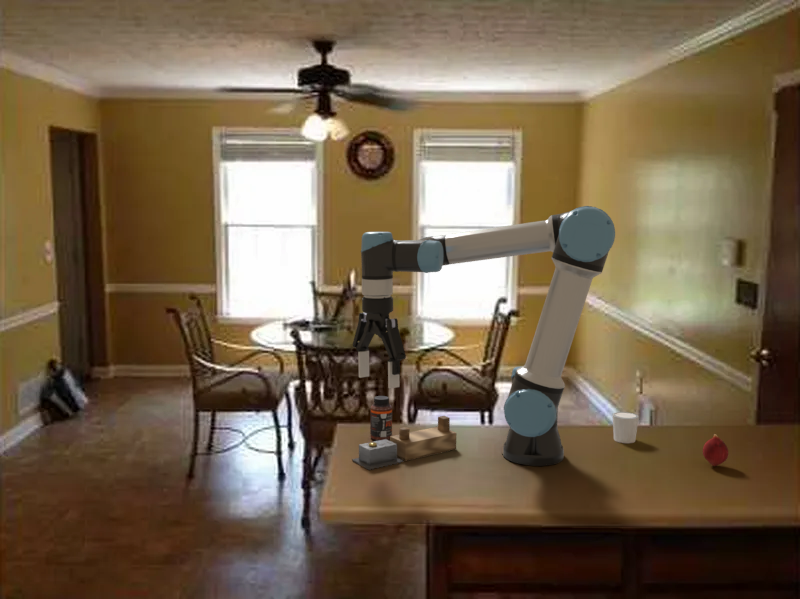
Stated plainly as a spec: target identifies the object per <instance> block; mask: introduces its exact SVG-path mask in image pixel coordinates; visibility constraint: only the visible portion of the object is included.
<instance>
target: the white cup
mask: <svg viewBox="0 0 800 599" xmlns="http://www.w3.org/2000/svg"><path fill="white" fill-rule="evenodd" d="M611 416H612V430H613V440H614V441H615V442H616V443H620V444H621V443H622V444H633V443H635V442H636V439H637V431H638V424H639V420H640V419H639V415H638V414H637V413H634V412H633V413H632V412H627V411H617V412H613V413H612V415H611Z"/></svg>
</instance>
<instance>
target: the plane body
mask: <svg viewBox="0 0 800 599" xmlns="http://www.w3.org/2000/svg"><path fill="white" fill-rule="evenodd" d="M450 420H451V419H450V417H449V416H446V415H441V416H438V417H437V426H435V427H429V428H425V429H424V428H423V429H419V430H414V431H410V427H407V426H406V427H405V426H404V427H400V428H399V429H398V432H399V434H396V435H395V434H394V435H392V436H390V439H389V441H391V442H393V443H395V444H397V458H399V459H401V460H403V461H404V462H407V461H406V460H408V461H412V460H416V459H415V458H417V459H421V458H425V457H430V456H434V455H437V453H439V454H442V453H441V452H443V453H447V452H451V451H450V450H452V451H455V449H456V450H457V432H456V431H453V430H450V423H451V422H450ZM446 451H447V452H446ZM433 454H434V455H433ZM429 455H430V456H429ZM424 456H425V457H424ZM420 457H421V458H420ZM411 459H412V460H411Z"/></svg>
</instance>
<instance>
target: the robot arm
mask: <svg viewBox="0 0 800 599" xmlns="http://www.w3.org/2000/svg"><path fill="white" fill-rule="evenodd" d="M615 238H616V228H615V224H614V222H613V220H612V218H611V217H610V215H609V214H608V213H607V212H606V211H604V210H603V209H601V208H598V207H596V206H589V205H584V206H579V207H576V208H574V209H573V210H570V211H566V212H562V213H557V214H552V215H550V216H549V217H548V218H547V219H545V220H537V221H530V222H525V223H518V224H511V225H505V226H496V227H490V228H484V229H476V230H471V231H470V230H469V231H465V232H456V233H451V234H445V235H442V234H441V235H436V236H425V237H423V238H420V239H415V240H398V239H394V236H393V233H392V232H390V231H367V232H366V231H365V232H364V233H363V234H362V236H361V246H360V247H361V250H360V255H361V256H360V258H361V259H360V260H361V261H360V262H361V294H362V296H363V297H362V298H361V311H362V312H360V313H359V314H358V322H357V325H356V326H357V327H356V330H355V334H354V338H353V342H352V347H353V348H355V349H356V351H357V355H358V356H357V358H358V359H357V361H358V378H360V379H361V378H368V377H370V348H369V346H370V344H371V343H372V341H373V340H372V339H373V338H374V336H375V335H377V336H378V338H379V339H381V341H382V344H383V346H384V347H385V351H386V352H387V356H388V357H389V359H388V360H387V375H388V376H387V380H388V381H387V384H388V387H387V388H388V389H394V388H400V385H401V384H400V383H401V382H400V373H401V370H400V369H401V361H402V360H405V359H406V358H407V356H406V351H405V348H404V344H403V341H402V337H401V334H400V329H399V322H398V321H399V320H398V318H396V317H395V318H390V313H392V312H393V311H394V298H393V296H392V295H393V293H394V292H393V291H394V290H393V289H394V288H393V287H394V282H393V281H394V280H393V279H394V275H393V274H394V273H395V272H397V273H398V272H399V273H400V272H401V273H402V272H404V273H405V272H407V273H424V274H429V273H439V272H440V271H441V270H442V269H443V266H448V265H455V264H463V263H469V262H470V263H471V262H478V261H485V260H486V261H487V260H493V259H501V258H510V257H516V256H522V255H531V254H538V253H547V252H551V253H552V255H551V260H552V263H553V264H554V267H555V268H554V272H553V275H552V277H551V281H550V284H549V286H548V287H549V288H548V291H547V293H546V297H545V301H544V303H543V306H542V309H541V313H540V316H539V320H538V321H537V322H538V323H537V325H536V329H535V333H534V336H533V338H532V342H531V345H530V348H529V352H528V354H527V357H526V361H525V363H524V365H522V366H515V367H514V368H512V372H511V376H510V380H511V386H510V390H509V392H508V396H507V399H506V400H505V402H504V405H503V414H504V418H505V421H506V423H507V425H508V426H509V429H508V431H507V436H506V441H505V442H503V443H504V444H503V450H502V456H503V458H505V459H506V460H508V461H510V462H512V463H515V464H518V465H519V464H520V465H525V466H534V467H535V466H536V467H543V466H552V465H556V464H559V463H561V462H563V460H564V459H565V456H564V454H565V452H564V446H563V445H562V440H561V436H560V433H559V429H558V420H559V419H558V418H559V416H558V415H559V405H560V403H561V399H562V396H563V392H564V390H565V387H566V383H565V382H564V380H563V378H562V374H563V371H564V368H565V365H566V362H567V359H568V356H569V354H570V350H571V346H572V343H573V340H574V339H575V338H574V337H575V334H576V331H577V328H578V325H579V322H580V319H581V315H582V313H583V309H584V306H585V303H586V300H587V298H588V294H589V291H590V288H591V286H592V282H593V279H594V278H595V277H598V276H599V275H601V274H602V273H603V270H604V268H605V264H606V261H607V258H608V255H609V252H610V251H611V249H612V247H613V245H614V242H615Z"/></svg>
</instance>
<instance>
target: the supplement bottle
mask: <svg viewBox="0 0 800 599" xmlns="http://www.w3.org/2000/svg"><path fill="white" fill-rule="evenodd" d="M389 402H390V397H388V396H385V395H378V396H377V395H376V396H374V398H373V404H371V406H370V429H369V430H370V432H369V433H370V436H369V437H370V438H371V439H372V440H374V441H379V440H384V439H387V440H390V436H393V406H392V405H391V404H390V403H389Z"/></svg>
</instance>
